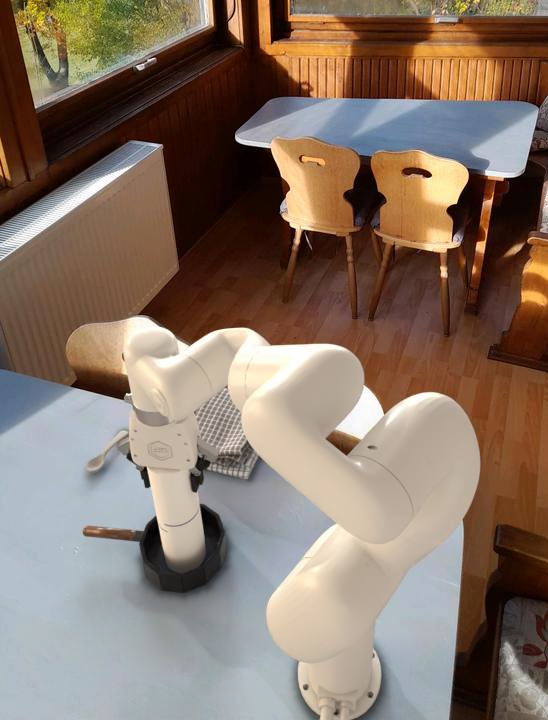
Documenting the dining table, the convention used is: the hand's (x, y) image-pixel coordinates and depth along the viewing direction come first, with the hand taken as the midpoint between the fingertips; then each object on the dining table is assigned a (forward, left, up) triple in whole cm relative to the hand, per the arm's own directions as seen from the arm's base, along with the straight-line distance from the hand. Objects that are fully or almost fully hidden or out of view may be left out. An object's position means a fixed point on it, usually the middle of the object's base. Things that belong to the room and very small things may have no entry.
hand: (173, 482), depth 108 cm
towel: (+26, -2, -19) cm, 32 cm away
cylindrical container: (0, 0, -19) cm, 19 cm away
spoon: (+20, +22, -19) cm, 35 cm away
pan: (0, +6, -19) cm, 20 cm away
